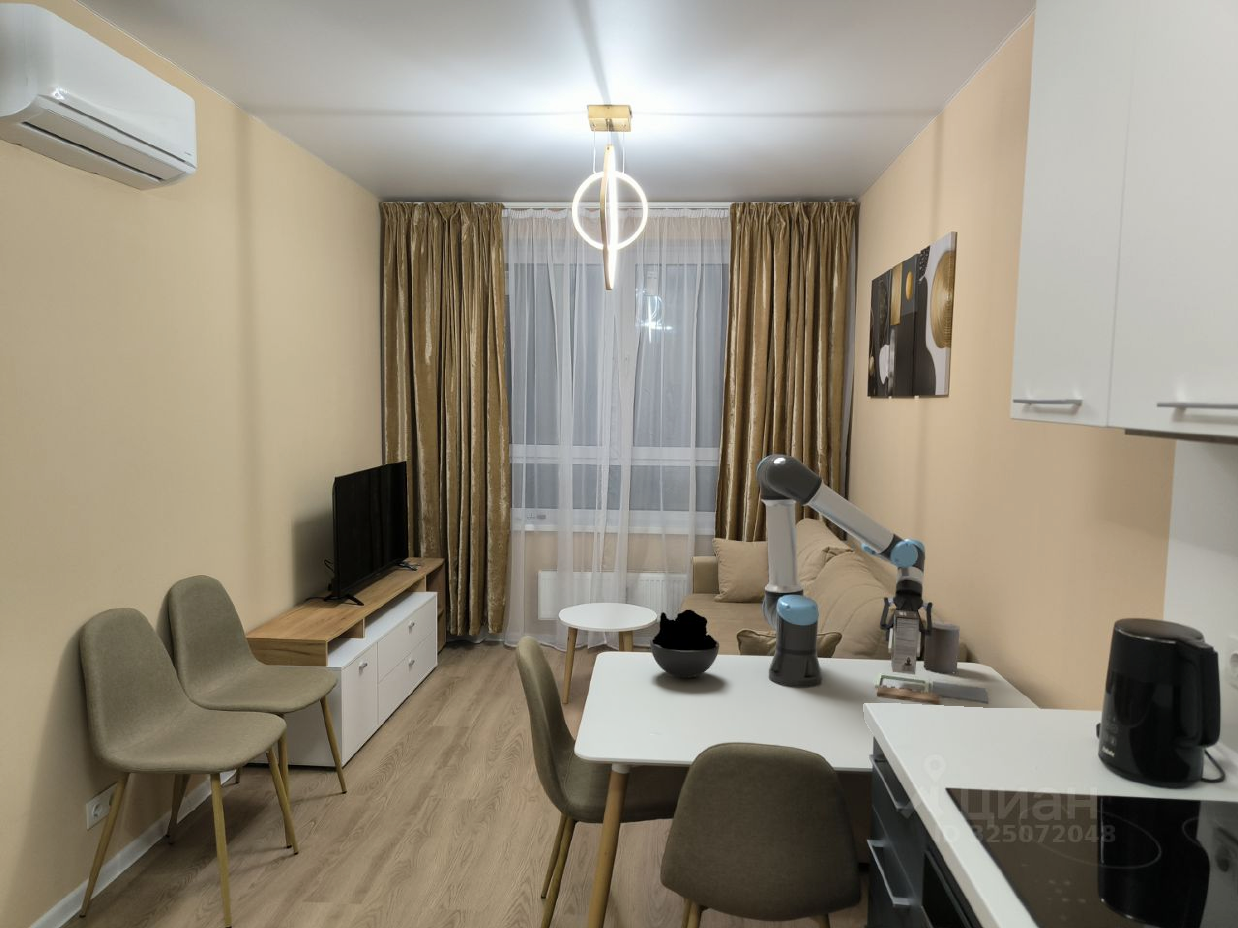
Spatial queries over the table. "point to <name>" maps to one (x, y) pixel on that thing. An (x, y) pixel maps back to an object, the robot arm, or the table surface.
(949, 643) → the pillar candle
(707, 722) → the table surface
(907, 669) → the coffee box
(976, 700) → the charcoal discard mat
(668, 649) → the coal bowl
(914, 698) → the walnut ticket board
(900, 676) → the sage stub frame
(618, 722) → the table surface
